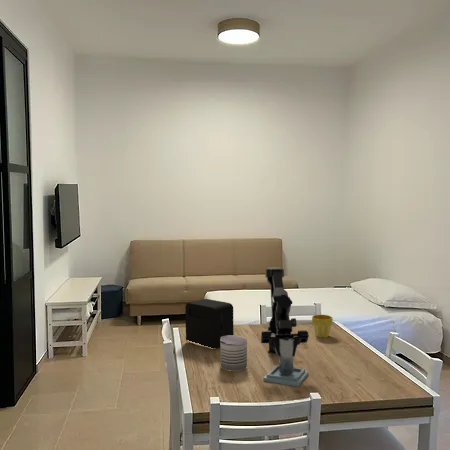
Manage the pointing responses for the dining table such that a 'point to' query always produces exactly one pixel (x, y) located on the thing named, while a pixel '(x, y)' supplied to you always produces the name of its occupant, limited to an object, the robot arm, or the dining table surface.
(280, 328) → the robot arm
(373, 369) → the dining table surface
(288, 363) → the grey shiny round cylinder
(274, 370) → the plate
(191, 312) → the air purifier
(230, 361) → the can
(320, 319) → the plant pot
